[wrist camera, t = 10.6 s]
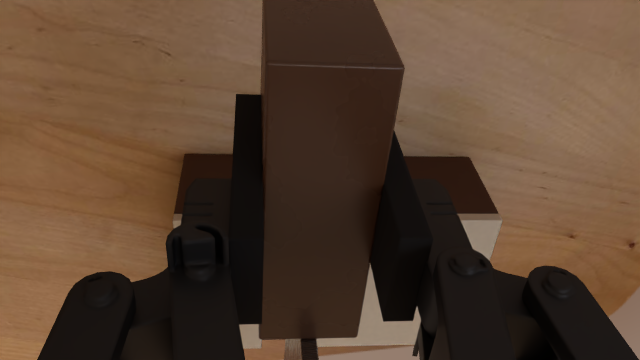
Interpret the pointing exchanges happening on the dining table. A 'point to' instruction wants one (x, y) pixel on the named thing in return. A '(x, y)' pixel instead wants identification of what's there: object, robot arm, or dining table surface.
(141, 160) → the dining table surface
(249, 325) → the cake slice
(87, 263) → the dining table surface
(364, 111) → the knife
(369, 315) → the beige square block
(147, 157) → the dining table surface
